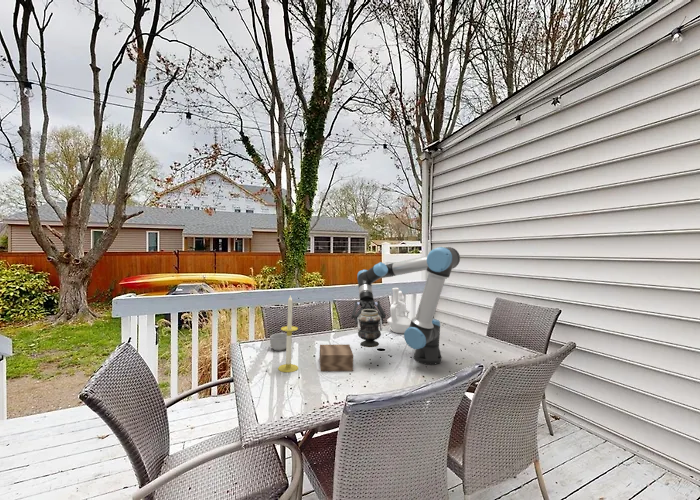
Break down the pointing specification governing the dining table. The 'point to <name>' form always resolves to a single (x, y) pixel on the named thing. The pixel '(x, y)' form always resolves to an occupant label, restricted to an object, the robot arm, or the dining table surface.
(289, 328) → the rod with yellow discs
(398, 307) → the white tall piece
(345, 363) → the walnut stand
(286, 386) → the dining table surface
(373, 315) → the apothecary jar
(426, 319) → the robot arm
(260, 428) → the dining table surface
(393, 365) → the dining table surface
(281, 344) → the teacup
